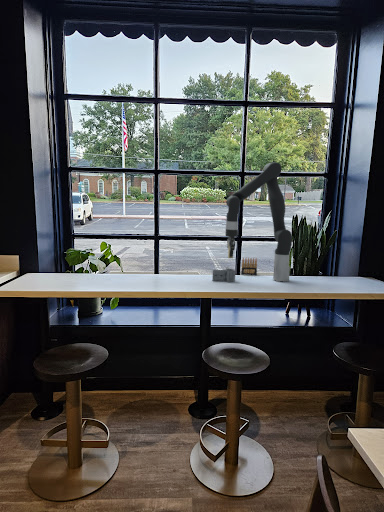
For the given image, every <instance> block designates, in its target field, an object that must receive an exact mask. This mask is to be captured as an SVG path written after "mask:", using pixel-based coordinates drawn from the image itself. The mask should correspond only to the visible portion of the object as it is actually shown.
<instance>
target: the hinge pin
mask: <svg viewBox="0 0 384 512" xmlns="http://www.w3.org/2000/svg"><path fill="white" fill-rule="evenodd" d="M230 246H231V245H230ZM232 248H233V247H232ZM229 249H230V247H229V248H227V250H228V251H227V253H228V254H227V258H228V259H233V258H234V256H233V257H230V256H229V254H230V250H229Z"/></svg>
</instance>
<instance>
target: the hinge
mask: <svg viewBox="0 0 384 512" xmlns="http://www.w3.org/2000/svg"><path fill="white" fill-rule="evenodd" d="M212 282H227V283H235V282H236V269H233V268H229V267H228V266H225V268H224V269H212Z"/></svg>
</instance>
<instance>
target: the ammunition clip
mask: <svg viewBox="0 0 384 512" xmlns="http://www.w3.org/2000/svg"><path fill="white" fill-rule="evenodd" d="M257 261H258V258H257V257H253V258H252V257H248V258H247V257H245V259H244V257H242V263H241V270H240V271H241V272H240V275H242V276H257V275H258V262H257Z"/></svg>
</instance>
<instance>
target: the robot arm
mask: <svg viewBox="0 0 384 512" xmlns="http://www.w3.org/2000/svg"><path fill="white" fill-rule="evenodd" d="M281 172H282V166H281V164H280V163H279V162H275V161H272V162H268V163H266V164H265V165H264V167H263V171H262V172H261V173H260V174H259V175H258V176H256V177H254V178H252V179H251V180H250V181H248V182H247V183H246V184H245V185H243V186H242V187H240V189H239V190H237V191H235V192H234V193H232V194H231V195H230V196H228V197H227V199H226V202H225V204H226V206H227V207H228V210H227V213H226V219H225V221H226V222H225V237H228V238H227V239H226V241H227V242H226V243H227V249H228V248H229V247H230V249H229V250H230V254H229V256H230V257H233V258H234V251H235V248H236V243H237V242H236V239H235V238H237V237H238V233H239V230H238V229H239V211H240V207H241V206H240V205H241V202H242V201H244V200H246V199H247V198H249V197H250V196H251V195H253V194H254V193H255V192H256V191H257V190H259V189H260V188H261V187H262V186H263V185H265V184H266V187H267V188H266V189H267V194H268V202H269V203H268V204H269V209H270V213H271V218H272V223H273V237H274V240H275V241H276V242H277V246H276V248H275V249H274V260H273V276H272V277H273V278H272V280H273V279H274V280H273V281H275V280H276V282H280V281H283V282H289V281H290V272H291V271H290V270H291V266H289V265H290V255H291V254H290V252H291V250H292V244H293V235H292V232H291V231H290V230H288V229H287V228H286V224H285V215H286V203H285V197H284V194H283V192H282V190H281V187H280V186H279V182H278V177H279V175H280V174H281ZM230 245H231V246H230ZM232 247H233V248H232Z"/></svg>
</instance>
